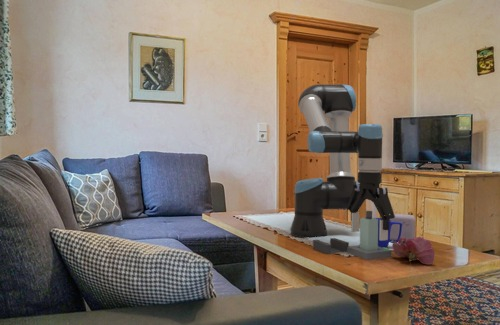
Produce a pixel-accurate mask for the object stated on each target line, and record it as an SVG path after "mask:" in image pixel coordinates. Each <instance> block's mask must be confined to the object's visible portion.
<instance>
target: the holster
mask: <svg viewBox="0 0 500 325" xmlns="http://www.w3.org/2000/svg"><path fill="white" fill-rule="evenodd" d="M348 246H350V245H349V242H348V241H345V240H341V239H339V238H335V237H333V238H330V239H329V243H328V242H325V241H322V240H320V239H313V240H312V249H313V250H316V251H318V252H320V253H322V254H323V253H324V254H325V255H332V254H340V253H347V247H348Z"/></svg>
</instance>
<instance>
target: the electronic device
mask: <svg viewBox="0 0 500 325" xmlns="http://www.w3.org/2000/svg"><path fill="white" fill-rule="evenodd" d="M394 215H395V218H392V219H390V220H391V222H400V223H402V231H401V237H404V238H406V239H412V238H416V217H415V216H414V215H413V214H401V213H394ZM399 230H400V225H399V224H393V225H392V226H391V231H390V241H396V240H397V239H398V236H399ZM401 237H400V238H401Z"/></svg>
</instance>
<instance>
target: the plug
mask: <svg viewBox="0 0 500 325" xmlns="http://www.w3.org/2000/svg"><path fill="white" fill-rule="evenodd" d="M375 218H376V217H373V211H372V210H365V217H359V245H360V249H363V250H366V251H373V250H378V219H375Z"/></svg>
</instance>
